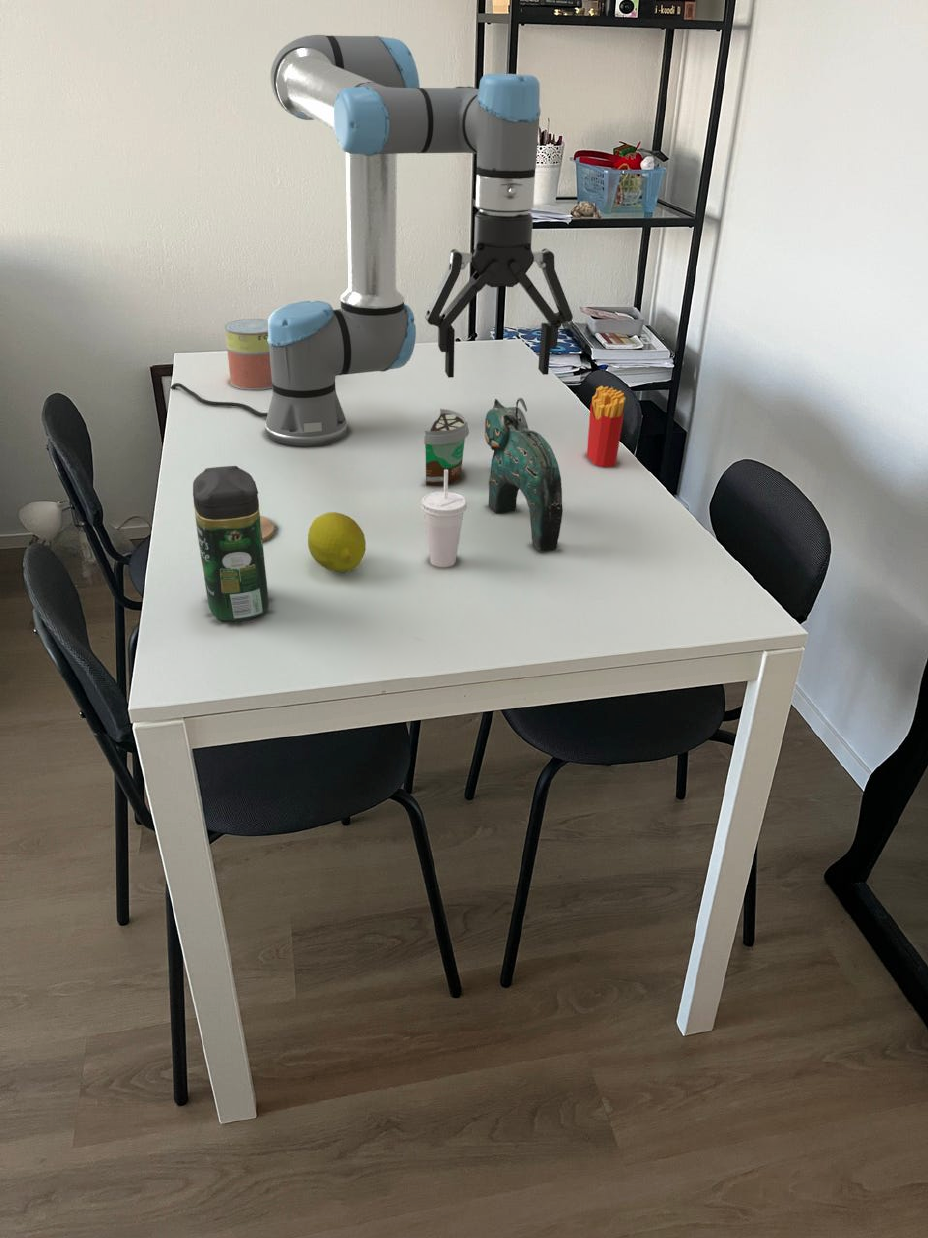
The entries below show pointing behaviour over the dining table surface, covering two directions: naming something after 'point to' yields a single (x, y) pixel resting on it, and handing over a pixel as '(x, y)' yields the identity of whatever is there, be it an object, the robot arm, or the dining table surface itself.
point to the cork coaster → (266, 528)
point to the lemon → (336, 542)
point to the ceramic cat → (524, 473)
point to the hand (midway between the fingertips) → (496, 373)
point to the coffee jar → (230, 543)
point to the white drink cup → (443, 524)
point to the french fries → (605, 426)
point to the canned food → (249, 354)
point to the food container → (445, 447)
